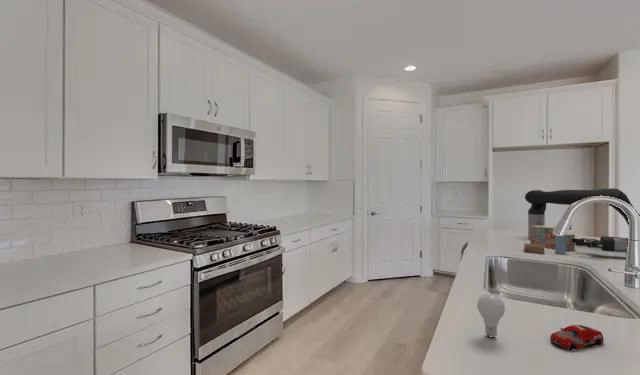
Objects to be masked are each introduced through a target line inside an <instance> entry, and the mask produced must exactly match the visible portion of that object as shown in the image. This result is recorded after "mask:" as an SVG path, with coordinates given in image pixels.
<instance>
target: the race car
mask: <svg viewBox="0 0 640 375" xmlns="http://www.w3.org/2000/svg"><path fill="white" fill-rule="evenodd" d="M549 339H550V342H551V344H553V345H554V346H556V347H559V348H562V349H566V350H569V349H570V350H569V351H571V350H572V349H576V348H580V349H583V348H582V347H585V348H589V347H588V346H590V347H595V346H594V345H598V346H600V345H602V344H603V343H604V335H603V333H602V332H601V331H600V330H598V329H596V328H593V327H590V326H586V325H582V324H573V325H572V324H571V325H569V326H566V327H564V328H563V327H560V330H558V331H555V332H552V333H551V334H550V336H549ZM572 351H573V350H572Z"/></svg>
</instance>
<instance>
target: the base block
mask: <svg viewBox="0 0 640 375" xmlns="http://www.w3.org/2000/svg"><path fill="white" fill-rule="evenodd" d="M523 245H524V247H523V248H524V254H533V255H534V254H536V255H537V254H538V255H545V248H544V246H543V245H540V244H530V243H526V242H524V244H523Z"/></svg>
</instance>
